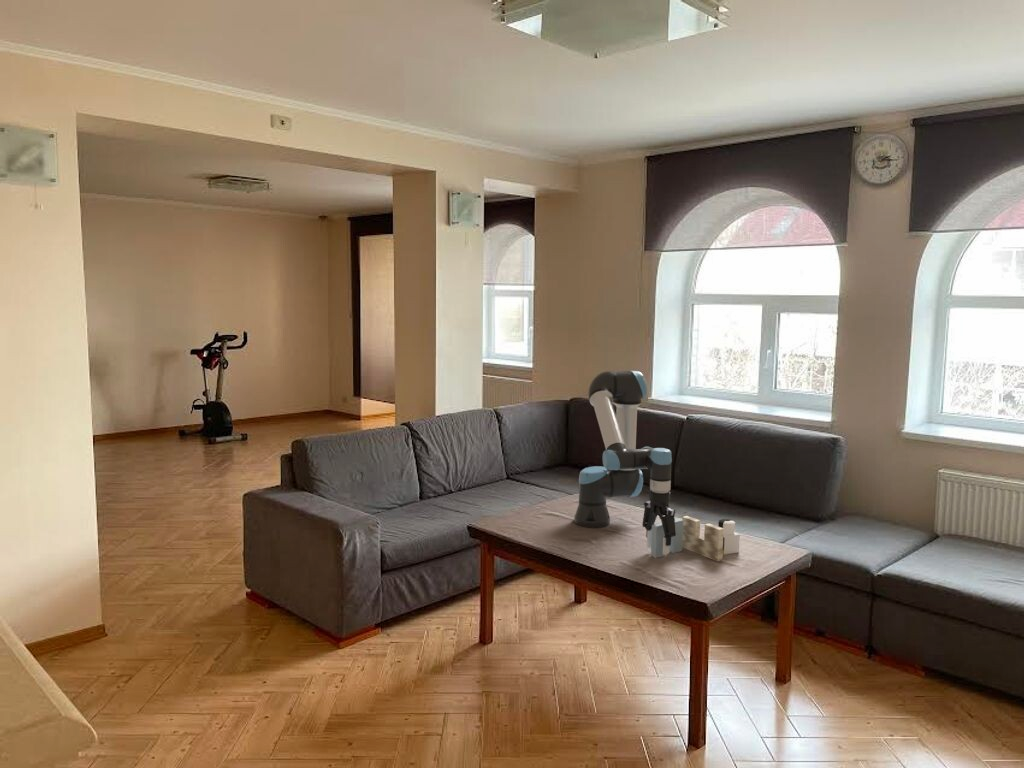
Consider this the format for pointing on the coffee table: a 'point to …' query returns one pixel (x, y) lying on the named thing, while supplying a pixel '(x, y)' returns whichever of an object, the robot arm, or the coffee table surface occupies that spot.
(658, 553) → the cross plate
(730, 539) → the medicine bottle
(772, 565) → the coffee table surface
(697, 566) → the coffee table surface
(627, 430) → the robot arm
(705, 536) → the standing plate
